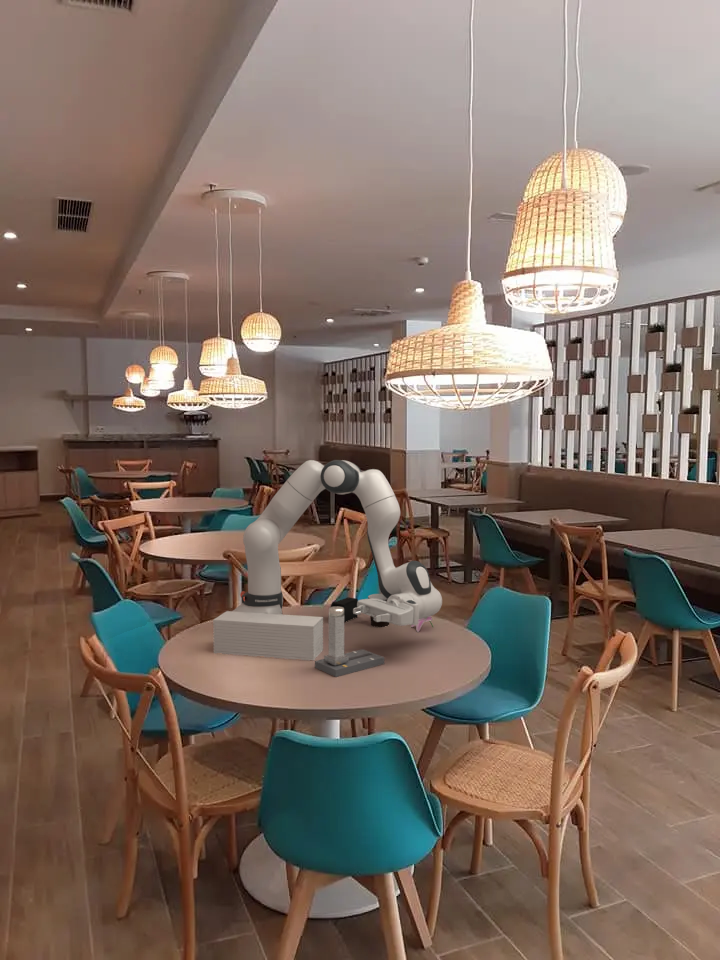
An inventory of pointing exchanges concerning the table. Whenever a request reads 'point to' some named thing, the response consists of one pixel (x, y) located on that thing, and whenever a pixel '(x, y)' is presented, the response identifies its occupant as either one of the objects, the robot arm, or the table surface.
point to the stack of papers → (268, 635)
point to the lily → (422, 622)
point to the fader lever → (336, 637)
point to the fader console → (351, 663)
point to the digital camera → (347, 607)
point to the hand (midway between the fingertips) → (364, 615)
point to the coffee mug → (373, 623)
